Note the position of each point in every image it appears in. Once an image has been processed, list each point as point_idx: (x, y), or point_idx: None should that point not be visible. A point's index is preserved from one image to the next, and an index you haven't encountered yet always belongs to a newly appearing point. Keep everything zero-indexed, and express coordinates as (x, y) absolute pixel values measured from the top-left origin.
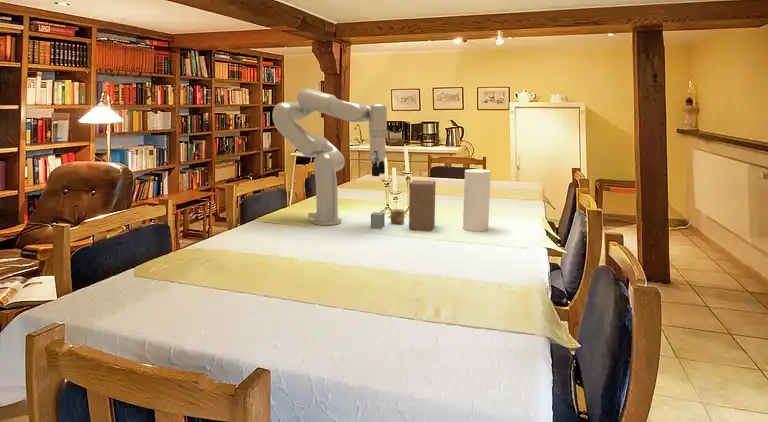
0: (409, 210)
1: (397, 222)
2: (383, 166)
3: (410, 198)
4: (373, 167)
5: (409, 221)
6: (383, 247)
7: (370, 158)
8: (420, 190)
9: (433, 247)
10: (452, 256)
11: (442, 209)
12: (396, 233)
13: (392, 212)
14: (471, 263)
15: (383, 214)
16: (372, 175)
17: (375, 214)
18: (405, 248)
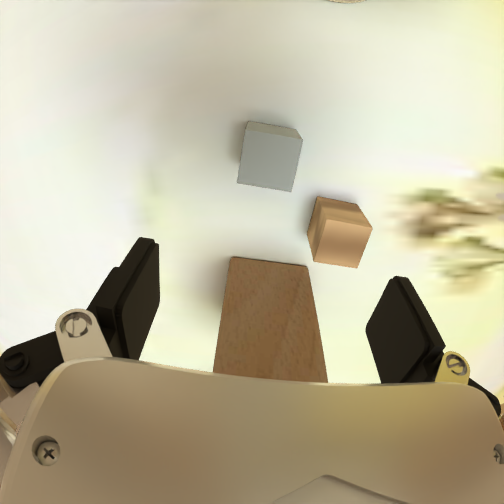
0: (224, 300)
1: (311, 222)
2: (382, 377)
3: (218, 339)
4: (84, 317)
5: (228, 273)
6: (32, 198)
7: (36, 400)
8: None
9: (72, 299)
10: (41, 318)
11: (471, 329)
12: (173, 219)
13: (323, 222)
14: (28, 333)
15: (267, 186)
16: (140, 242)
17: (247, 152)
18: (43, 246)
